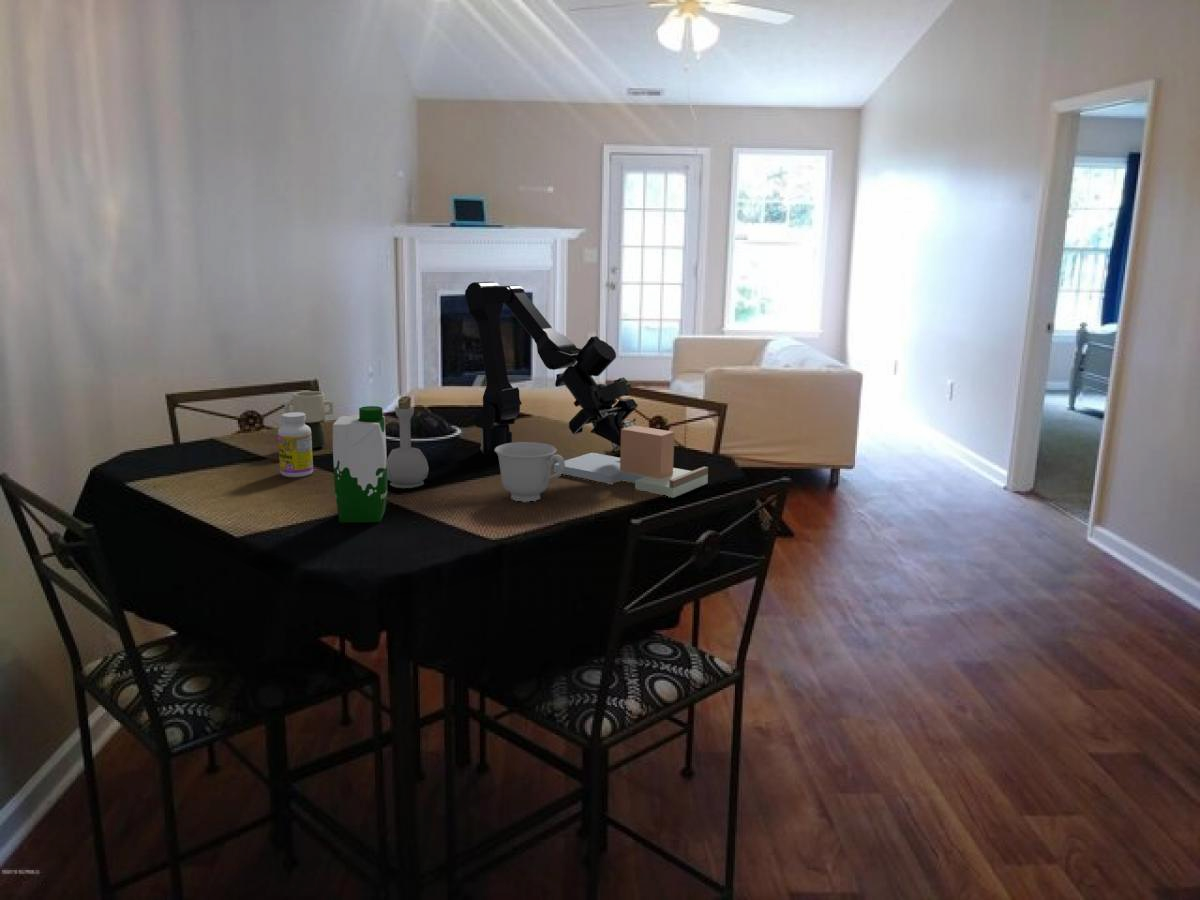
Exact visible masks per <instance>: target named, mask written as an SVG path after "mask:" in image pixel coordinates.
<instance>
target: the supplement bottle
mask: <svg viewBox="0 0 1200 900" xmlns="http://www.w3.org/2000/svg"><path fill="white" fill-rule="evenodd" d="M305 420H306V416H305V413H301V412H291V413H285V412H284V413H282V414H281V421H282V422H283V425H282V426H280V427H279V428H278V430H277V439H278V455H279V457H278V458H279V473H280V474H281V475H282V476H283V477H287V478H301V477H306V476H310V475H311V474H312V473H313V472H314V459H313V448H312V437H311V429H310V427H309V426H308V425H305Z"/></svg>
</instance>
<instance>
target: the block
mask: <svg viewBox="0 0 1200 900" xmlns="http://www.w3.org/2000/svg"><path fill="white" fill-rule="evenodd" d="M635 425H636V424H635ZM635 425H634V426H630V427H627V428H623V429H621V450H620V457H619V458H620V471H624V472H629V473H634V474H639V475H644V476H649V477H654V478H659V479H661V478H663V477H666V476H669V475H671V474H673V468H674V459H675V458H674V456H675V432H676V431H673V430H664V429H659V428H654V427H647V426H640V425H636V426H635Z"/></svg>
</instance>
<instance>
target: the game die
mask: <svg viewBox="0 0 1200 900" xmlns="http://www.w3.org/2000/svg"><path fill="white" fill-rule="evenodd" d="M636 419H637V417H634V418H633V420H629V419H627V420H626V419H625V420H624V421H622V425H623V428H627V427H630V426H634V425H635V426H637V425H636V422H635V421H636ZM610 442H611V441H610ZM611 445H612V450H614V451H616V450H617V451H619V450H620V451H621V447H620V446H618V445H616V444H614V443H612V442H611ZM612 450H611V451H612Z"/></svg>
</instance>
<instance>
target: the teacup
mask: <svg viewBox="0 0 1200 900" xmlns="http://www.w3.org/2000/svg"><path fill="white" fill-rule="evenodd" d="M495 452H496V453H497V456H498V463H499V469H500V477H501V482H502V485H503V488H504V489H505V490H506V491H507V492H509V493H511V496H510V499H511V500H512V499H513V500H512V501H514V500H515V502H517V501H523V502H522V503H530V502H529V501H534V502H537V501H536V500H538V499H539V500H540V499H541V495H540V494H542V492H544V491H545V490H547V488H548V487H549V484H550V481H551V480H552V479H556V478H559V477H561V476H562V475H561V474H562V473H563V472H564V469H565V462H564V461H565V460H564V458H563V456H562V455H560V454H556V453H557V452H558V450H557V448H556V447H555V446H554V445H552V444H548V443H544V442H537V441H516V442H512V443H507V444H502V445H499V446H497V447H496V448H495ZM555 461H557V463H559V470H558V471H557V472H556V473H552V466H554V464H555ZM551 473H552V474H551ZM539 500H538V501H539ZM526 501H527V502H526Z"/></svg>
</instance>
